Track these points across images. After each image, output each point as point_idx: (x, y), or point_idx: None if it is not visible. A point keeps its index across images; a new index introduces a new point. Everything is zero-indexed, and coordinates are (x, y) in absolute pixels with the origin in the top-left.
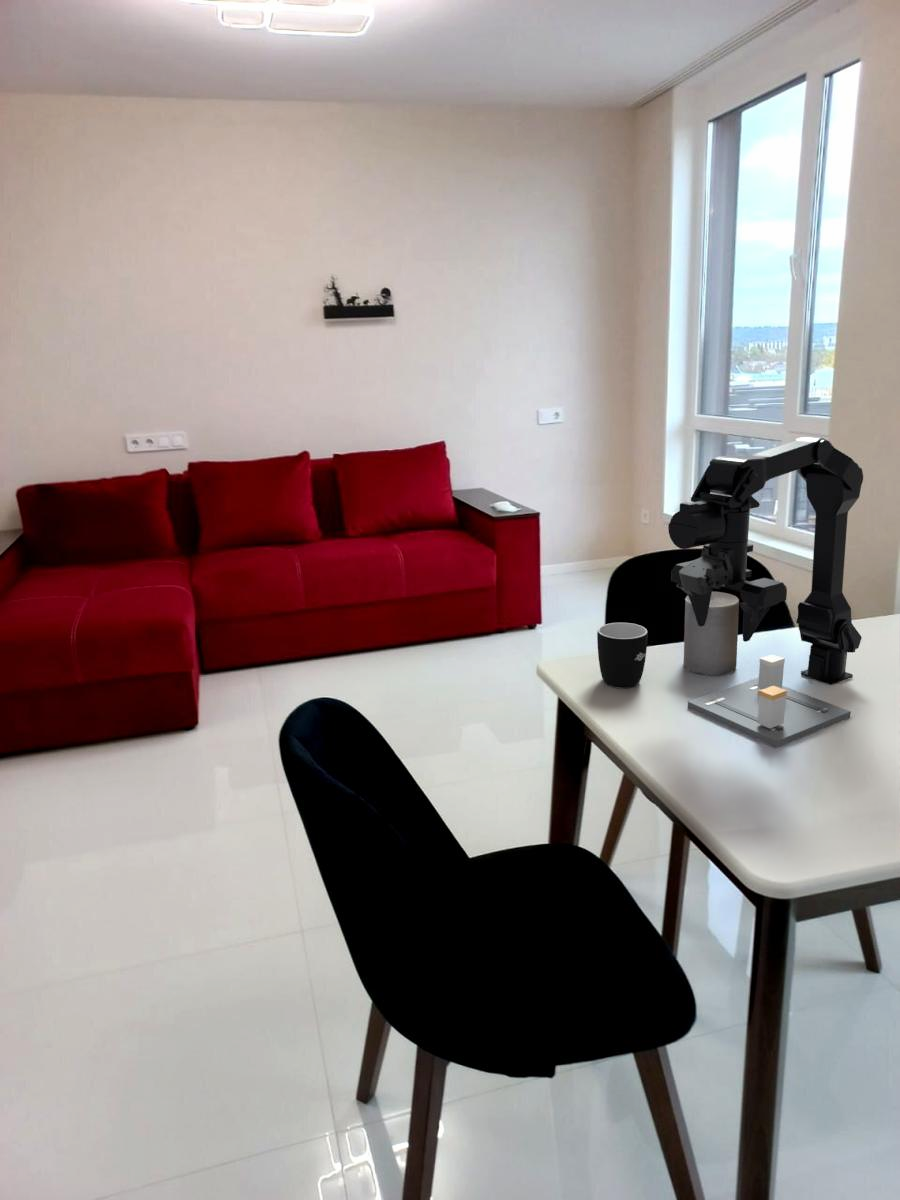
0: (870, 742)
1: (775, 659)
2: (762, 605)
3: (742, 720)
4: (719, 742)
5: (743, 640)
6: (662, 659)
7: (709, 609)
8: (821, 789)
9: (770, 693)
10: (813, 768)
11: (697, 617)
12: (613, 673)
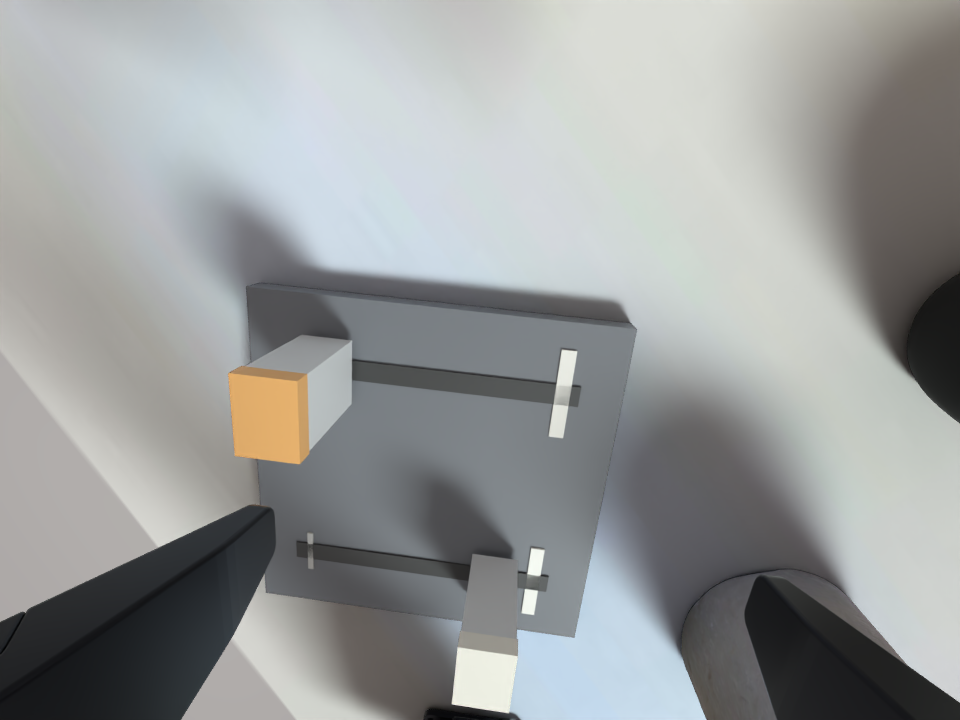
0: (159, 491)
1: (468, 678)
2: None
3: (408, 335)
4: (388, 177)
5: (265, 507)
6: (943, 593)
7: None
8: (21, 153)
9: (249, 387)
10: (121, 251)
11: (844, 638)
12: None
